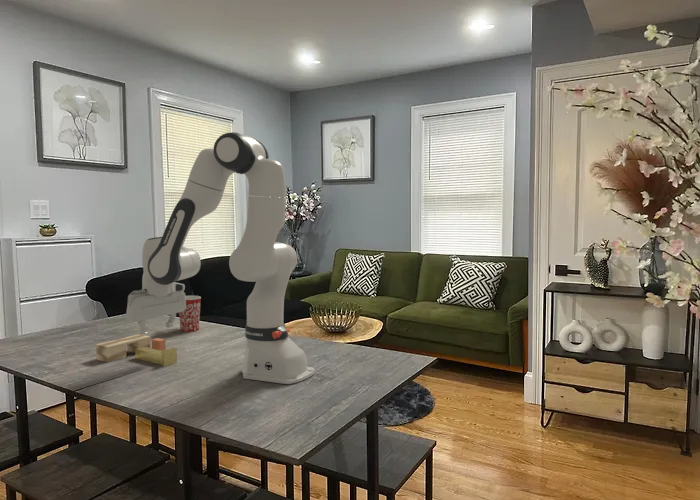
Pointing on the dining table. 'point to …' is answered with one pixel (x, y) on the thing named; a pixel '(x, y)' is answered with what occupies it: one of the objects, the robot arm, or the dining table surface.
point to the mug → (190, 314)
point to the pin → (157, 355)
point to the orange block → (158, 344)
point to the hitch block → (120, 347)
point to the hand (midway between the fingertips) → (157, 330)
